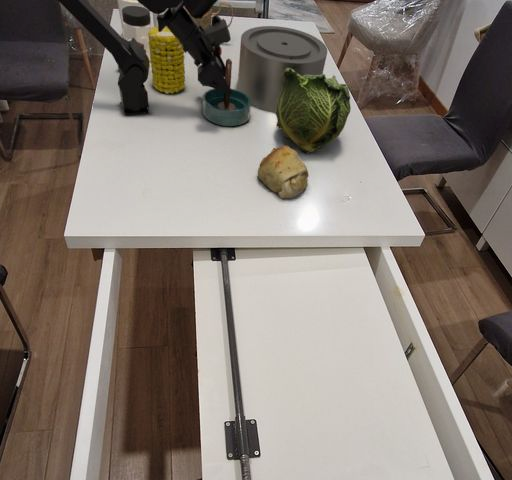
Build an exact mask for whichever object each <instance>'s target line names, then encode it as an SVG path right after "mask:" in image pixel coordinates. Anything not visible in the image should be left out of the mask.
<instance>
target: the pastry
mask: <svg viewBox="0 0 512 480" xmlns="http://www.w3.org/2000/svg"><path fill="white" fill-rule="evenodd" d="M257 176H258V179H259V180H260V181H261V182H262V184H263V185H264V186H265V187H266V188H268V189H269V190H270V191H272V192H273V193H275V194H277V195H278V197H279V198H280V199H282V200H283V199H285V200H286V199H291V198H294V197H297V196H298V195H301V194H302V193H303V192H304V191H306V188H307V186H308V183H309V182H308V181H309V179H308V177H309V170H308V168H307V165H306V164H305V162H304V161H302V158H300V156H299V155H298V152H297V151H295V149H292V148H290V147H289V145H284V146H281V147H277V148H276V147H274V148H273V149H271V151H270V153H268V154H267V155H266V156H264V157H263V158H262V159H261V161H260V163H259V166H258V168H257Z"/></svg>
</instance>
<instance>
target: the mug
mask: <svg viewBox="0 0 512 480" xmlns="http://www.w3.org/2000/svg"><path fill="white" fill-rule="evenodd" d="M222 5H223V6H226V7H229V8H230V9H231V19H230V21H229V23H228V24H227V26H228V28H229V27H231V25H232V22H233V19H234V18H233V17H234V8H233V6H232V5H231V4H230V3H228V2H224V1H220V2H219V8H218V10H217V11H216V12H213V9H212V7H211V8H210V9H209V11H208V12H207V13H206V14H205V15H204V16H203V17H202V18H201V19H200V18H197V19H196V18H193V17H192V16H191V15H190V13H189V12H188V11H187V9H186V8H185V6H183V7H184V8H185V10H186V11H187V12H188V14H189V15H190V16H191V18H192V19H193V20H194V21H195V23H196V24H197V25H198V24H199V25H202V27H203V28H204V29H205V28H207V27H209V25H212V16H215V15H218V14H219V13H220V11H221V7H222Z"/></svg>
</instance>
